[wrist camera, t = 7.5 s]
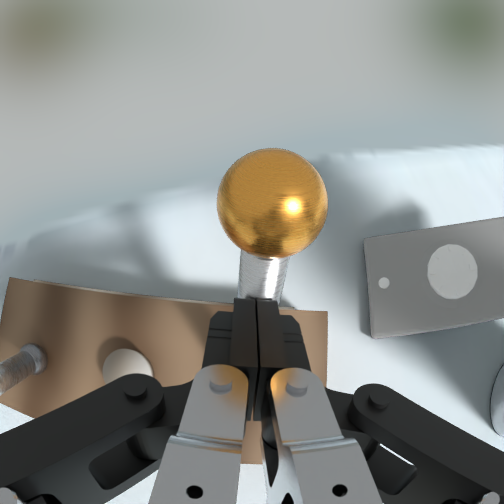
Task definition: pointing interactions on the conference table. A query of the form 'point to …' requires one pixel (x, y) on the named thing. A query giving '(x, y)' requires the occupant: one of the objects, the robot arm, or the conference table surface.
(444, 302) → the light switch
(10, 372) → the lever black
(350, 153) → the conference table surface
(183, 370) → the switch panel
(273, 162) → the lever orange
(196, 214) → the conference table surface
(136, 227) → the conference table surface
